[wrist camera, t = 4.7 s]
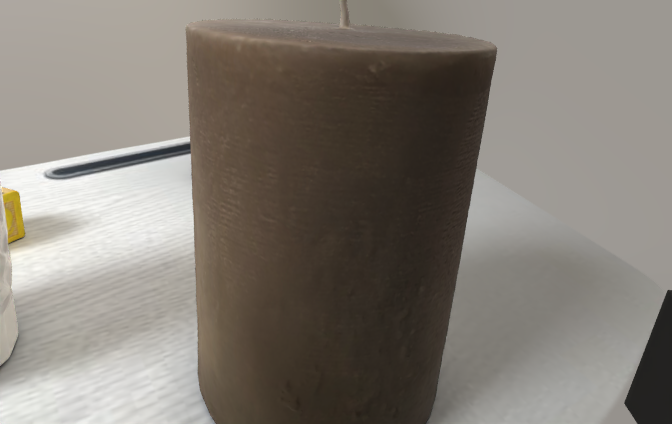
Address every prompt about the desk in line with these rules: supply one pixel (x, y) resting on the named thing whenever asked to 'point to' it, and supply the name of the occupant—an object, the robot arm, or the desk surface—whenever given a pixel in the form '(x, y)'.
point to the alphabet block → (13, 214)
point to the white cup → (6, 292)
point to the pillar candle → (329, 213)
